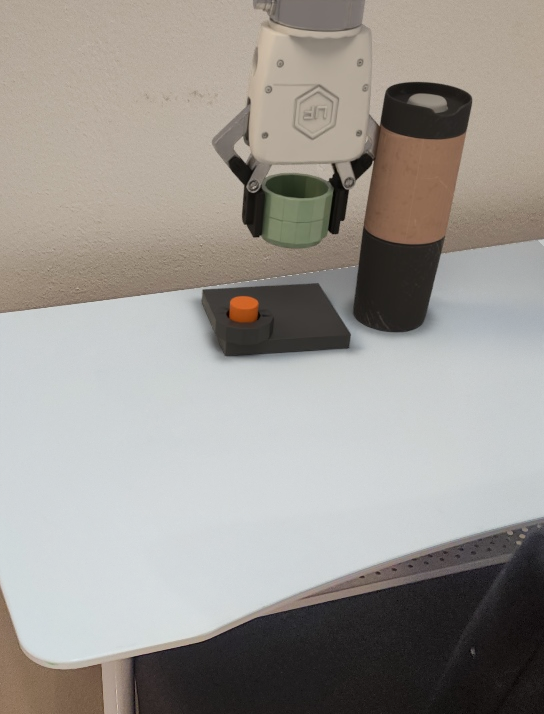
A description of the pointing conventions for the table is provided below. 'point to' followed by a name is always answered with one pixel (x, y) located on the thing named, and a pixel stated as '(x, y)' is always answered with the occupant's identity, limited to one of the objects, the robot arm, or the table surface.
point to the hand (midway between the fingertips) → (292, 228)
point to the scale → (277, 320)
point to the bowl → (296, 210)
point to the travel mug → (409, 202)
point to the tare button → (243, 309)
